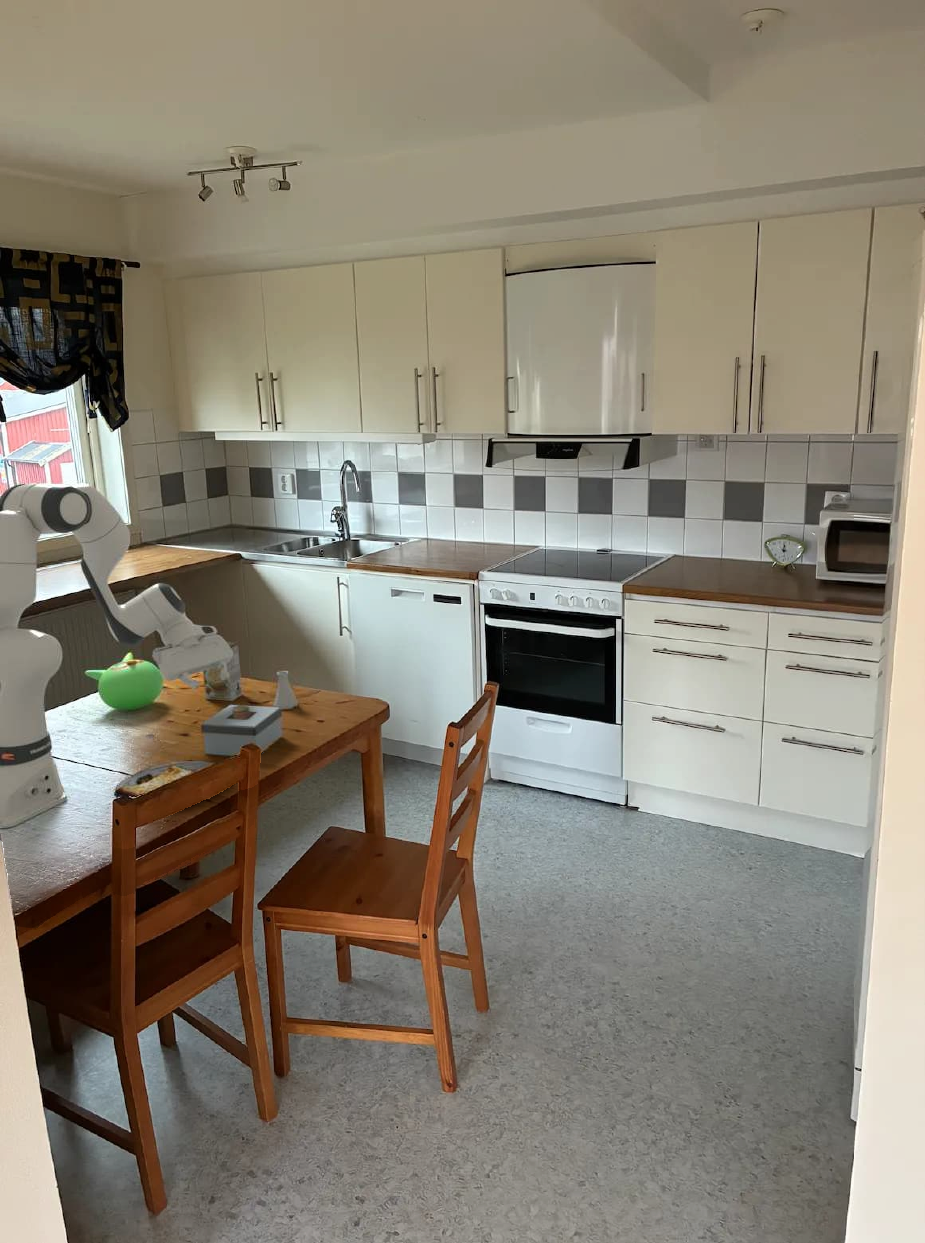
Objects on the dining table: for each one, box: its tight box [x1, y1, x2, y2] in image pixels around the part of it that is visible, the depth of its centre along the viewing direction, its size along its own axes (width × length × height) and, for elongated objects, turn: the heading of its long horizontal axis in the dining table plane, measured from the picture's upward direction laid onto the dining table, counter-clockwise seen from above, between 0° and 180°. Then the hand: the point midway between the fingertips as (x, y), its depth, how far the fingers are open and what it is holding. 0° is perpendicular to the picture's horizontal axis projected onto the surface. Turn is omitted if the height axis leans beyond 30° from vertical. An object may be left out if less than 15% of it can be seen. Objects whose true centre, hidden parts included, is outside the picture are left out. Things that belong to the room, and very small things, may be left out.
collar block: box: [200, 704, 283, 757], centre depth 236 cm, size 14×14×8 cm
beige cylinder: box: [232, 704, 250, 720], centre depth 236 cm, size 4×4×10 cm
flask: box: [272, 670, 299, 711], centre depth 265 cm, size 7×7×10 cm
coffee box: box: [202, 641, 243, 702], centre depth 275 cm, size 9×6×16 cm
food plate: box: [113, 760, 216, 799], centre depth 212 cm, size 25×23×4 cm
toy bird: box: [84, 652, 164, 711], centre depth 268 cm, size 18×17×15 cm
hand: (211, 682), depth 240 cm, fingers open, 8 cm apart
